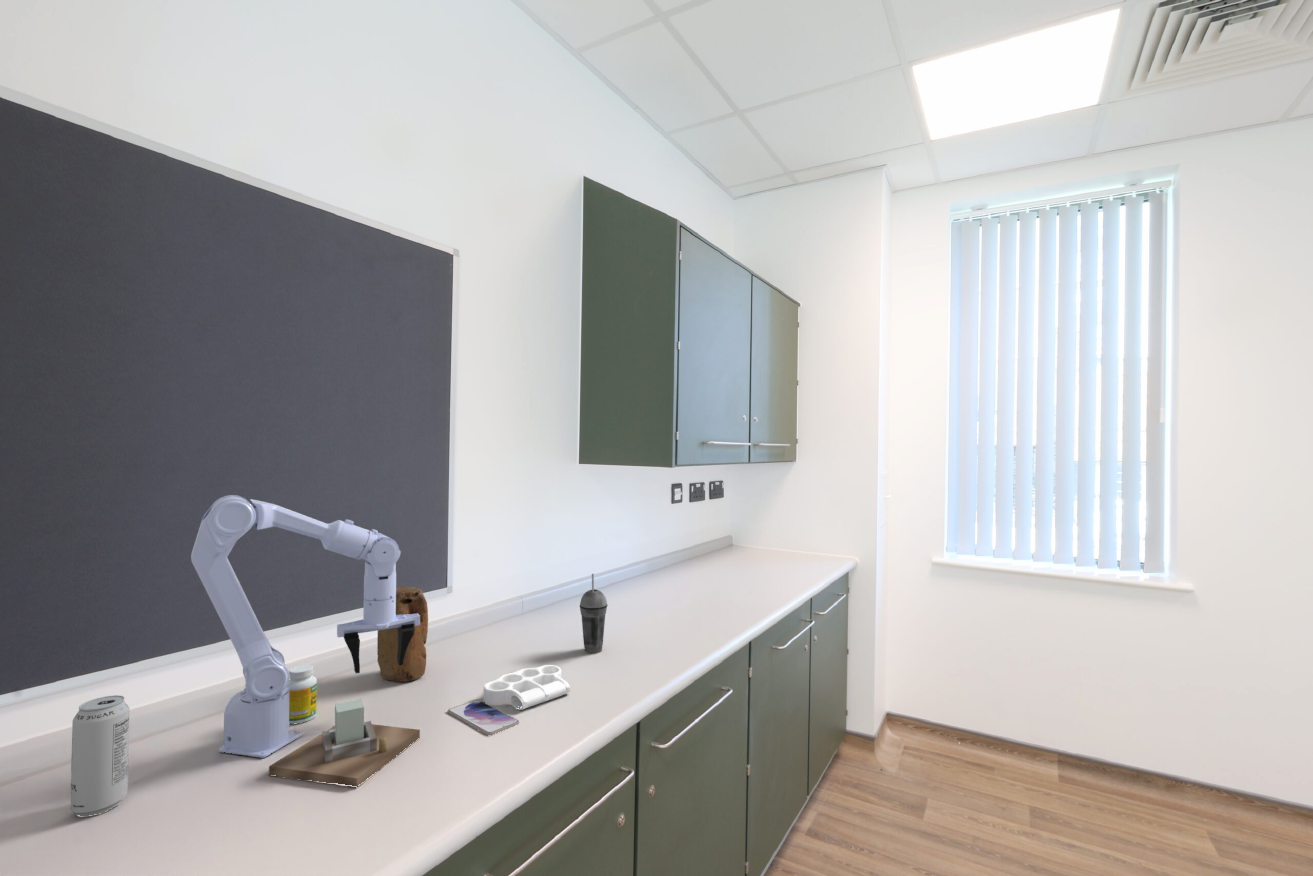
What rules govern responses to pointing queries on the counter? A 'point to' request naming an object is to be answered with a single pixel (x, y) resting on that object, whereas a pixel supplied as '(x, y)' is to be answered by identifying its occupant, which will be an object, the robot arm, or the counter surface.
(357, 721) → the sage block
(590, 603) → the beverage cup
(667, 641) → the counter surface
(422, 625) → the block
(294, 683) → the supplement bottle
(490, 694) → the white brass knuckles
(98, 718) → the energy drink can
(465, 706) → the smartphone
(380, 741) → the socket plate
